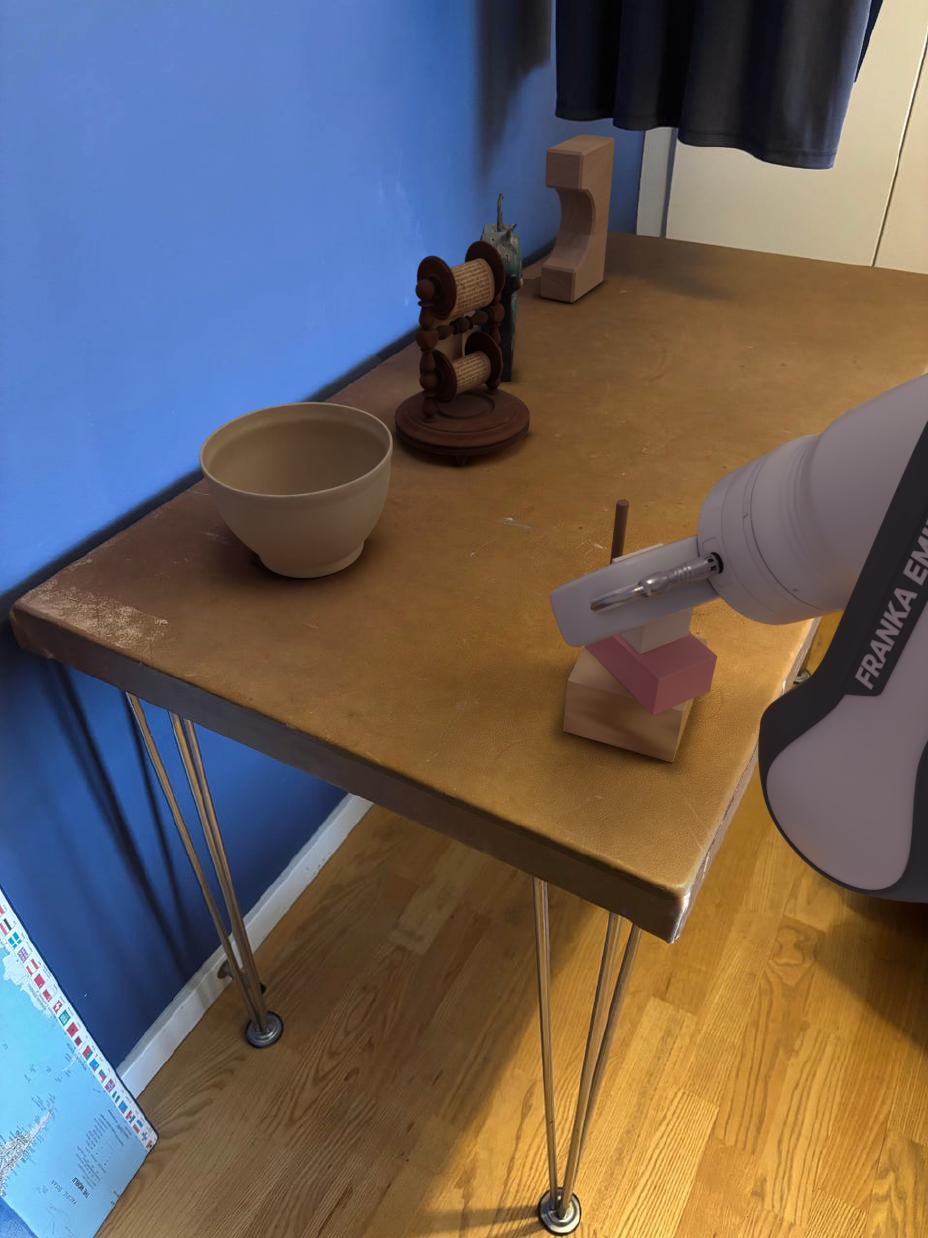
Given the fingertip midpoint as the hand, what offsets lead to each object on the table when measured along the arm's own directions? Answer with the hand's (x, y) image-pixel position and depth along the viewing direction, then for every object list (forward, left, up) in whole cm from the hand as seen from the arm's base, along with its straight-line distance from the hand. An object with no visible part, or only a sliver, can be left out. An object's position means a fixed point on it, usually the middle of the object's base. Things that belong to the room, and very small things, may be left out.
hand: (650, 588), depth 60 cm
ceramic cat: (+34, -57, -11) cm, 67 cm away
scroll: (+29, -35, -11) cm, 46 cm away
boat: (0, 0, -6) cm, 6 cm away
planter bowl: (+33, -9, -11) cm, 36 cm away
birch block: (0, 0, -11) cm, 11 cm away
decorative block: (+32, -84, -11) cm, 90 cm away
